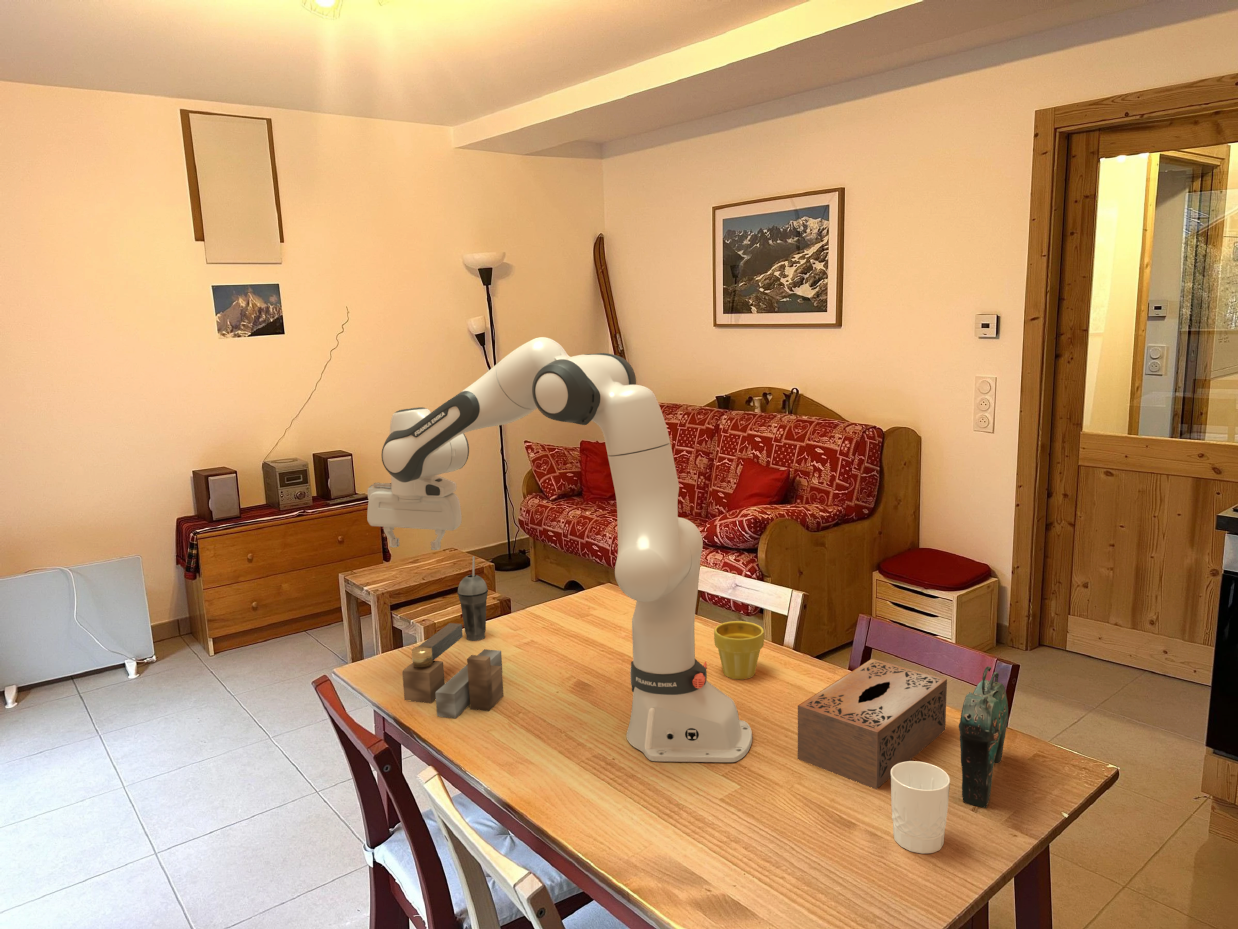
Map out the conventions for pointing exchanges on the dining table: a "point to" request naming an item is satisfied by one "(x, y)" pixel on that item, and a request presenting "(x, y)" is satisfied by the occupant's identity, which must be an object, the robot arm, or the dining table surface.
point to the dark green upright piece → (982, 738)
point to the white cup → (919, 805)
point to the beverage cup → (473, 605)
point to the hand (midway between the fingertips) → (415, 548)
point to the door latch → (457, 684)
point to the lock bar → (436, 645)
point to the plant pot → (739, 647)
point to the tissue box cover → (871, 721)
